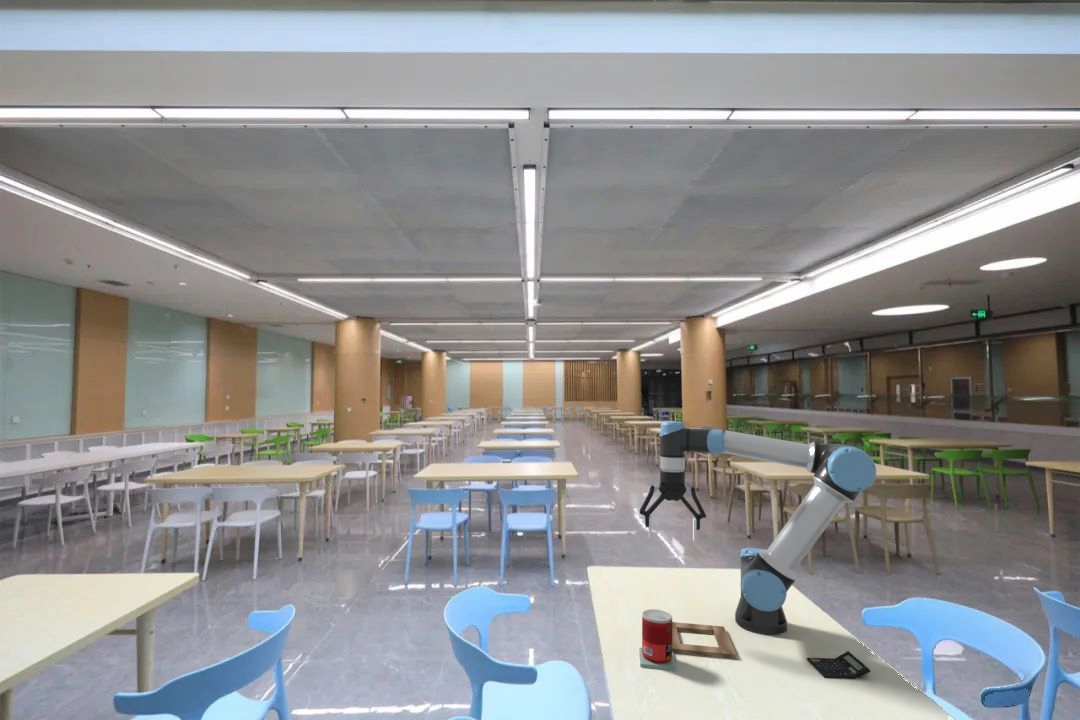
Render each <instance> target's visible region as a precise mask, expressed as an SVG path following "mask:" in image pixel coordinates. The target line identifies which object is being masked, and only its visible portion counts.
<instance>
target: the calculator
mask: <svg viewBox="0 0 1080 720" xmlns="http://www.w3.org/2000/svg"><path fill="white" fill-rule="evenodd" d="M806 661H807V662H808V663H809V664H810V665H811V666H812V665H813V666H812V667H813V668H814V669H815V670H816V671H817V672H818V673H819V674H820V675H821V676H822V677H823V678H824V679H840V680H841V679H842V680H845V679H846V680H857V679H859V678H861V677H864V676H866V675H867V674H869V673H871V670H870V668H869V667H867V666H866V665H865V663H863V662H862V661H861V660H859V659H858V658H857V657H856V656H855V655H854V654H852V653H851V652H850V651H849V650H847V651H845V652H844V653H842V654H840V655H838V656H837V657H834V658H832V657H829V658H828V657H826V658H824V657H806ZM856 678H857V679H856Z"/></svg>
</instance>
